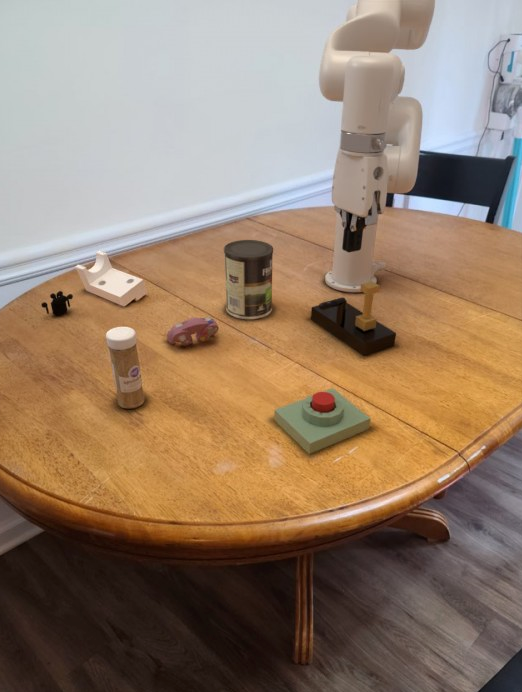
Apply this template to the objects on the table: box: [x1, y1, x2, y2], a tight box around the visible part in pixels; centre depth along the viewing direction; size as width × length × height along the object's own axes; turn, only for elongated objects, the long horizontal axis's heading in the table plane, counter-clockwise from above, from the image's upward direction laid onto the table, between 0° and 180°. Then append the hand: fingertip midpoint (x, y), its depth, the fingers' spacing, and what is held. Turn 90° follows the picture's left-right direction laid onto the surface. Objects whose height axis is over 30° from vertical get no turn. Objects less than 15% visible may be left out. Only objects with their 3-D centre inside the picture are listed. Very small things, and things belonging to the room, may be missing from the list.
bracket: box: [75, 249, 149, 307], centre depth 128 cm, size 13×7×8 cm, turn 54°
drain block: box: [273, 388, 372, 455], centre depth 91 cm, size 12×10×4 cm
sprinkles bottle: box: [105, 326, 146, 410], centre depth 92 cm, size 5×5×14 cm
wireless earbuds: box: [41, 290, 74, 316], centre depth 120 cm, size 7×2×5 cm, turn 136°
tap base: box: [310, 296, 397, 357], centre depth 115 cm, size 13×18×9 cm
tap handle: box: [355, 281, 381, 331], centre depth 111 cm, size 3×3×9 cm
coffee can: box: [223, 239, 274, 320], centre depth 121 cm, size 10×10×14 cm
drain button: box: [312, 391, 335, 413], centre depth 90 cm, size 4×4×2 cm
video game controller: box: [166, 316, 219, 346], centre depth 111 cm, size 10×5×7 cm, turn 118°
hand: (351, 249), depth 104 cm, fingers closed
